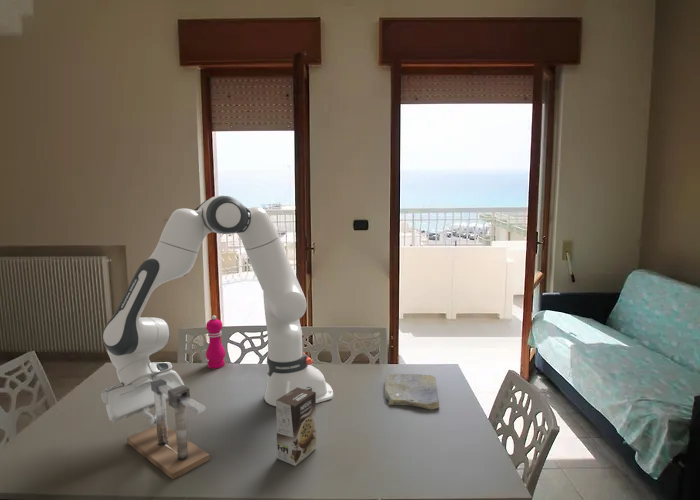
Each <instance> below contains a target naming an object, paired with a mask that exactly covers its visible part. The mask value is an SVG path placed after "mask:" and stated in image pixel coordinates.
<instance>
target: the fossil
mask: <svg viewBox="0 0 700 500" xmlns="http://www.w3.org/2000/svg"><path fill="white" fill-rule="evenodd" d="M384 380H385V381H384V400H383V402H384V405H387V406H389V405H390V406H394V405H395V406H396V405H397V406H398V405H399V406H414V407H417V408H422V409H426V410H430V411H431V410H436V409H439V408H440V399H439V394H438V388H437V380H436V377H435V376H433V375H431V374H429V375H427V374H412V373H411V374H410V373H409V374H406V373H404V374H403V373H399V374H398V373H397V374H396V373H386V374H385V379H384Z"/></svg>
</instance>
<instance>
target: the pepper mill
mask: <svg viewBox="0 0 700 500" xmlns="http://www.w3.org/2000/svg"><path fill="white" fill-rule="evenodd" d="M205 327H206V331H208V332H207V336H208V339H209V344H208V346H207V348H206V349H207V350H206V353H205V358H206V359H207V360H208V361H207V367H208V368H209V369H213V370H215V369H220V368H222V367H224V366H225V364H226V362H225V357H226V350H225V347H224V345H223V344H222V340H221V339H222V338H221V336H222V334H223V333H222V329H223V322H222V320H220V319H218V318H217V316H216V315H215V314H214V315H212V316H211V319H210V320H208V321H207V322H206V325H205Z"/></svg>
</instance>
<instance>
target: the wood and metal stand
mask: <svg viewBox="0 0 700 500" xmlns="http://www.w3.org/2000/svg"><path fill="white" fill-rule="evenodd" d="M184 385H185V384H184ZM184 385H181V386H178V387H176V388H173V389H170V390H168V400H169V401H168V406H170V407H172V408H173V409H174V419H175V430H174V429H172V428H170V427H169V426H168V425H167V431H168V440H167V441H165V442H164V443H161V442H158V441H157V427H156V425H154V426H151V427H149V428H147V429H144V430H142V431H140V432H137V433H135V434H133V435H131V436H127V438H126V441H127V444H128V445H129V446H131V447H132V448H133V449H134V450H136V451H137V452H138V453H139V454H140V455H141V456H143V457H144V458H145V459H147V460H148V461H149V462H151V463H152V464H153V465H154V466H155V467H157V468H158V469H159V470H160V471H161V472H162V473H164V474H165V475H167V476H168V477H169V478H170V479H171V480H175V479H177V478H178V477H181V476H183V475H184V474H186V473H188V472H190V471H192V470H193V469H195V468H197V467H199V466H201V465H203V464H205V463H207V462H209V461H210V460H211V459H210V454H209V453H208V452H206V451H205V450H204V449H202V448H200V446H198V445H196V444H194V443H193V442H192V441H190V440H189V439H188V436H187V432H188V431H187V420H186V418H187V417H186V406H184V405H182V404H181V403H179V402H177V395H179V394H182V393H183V394H184V395H186V396H188V397H190V398H191V393H190V391H191V390H190V388H189V387H188V386H186V385H185V386H184Z"/></svg>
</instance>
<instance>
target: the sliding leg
mask: <svg viewBox="0 0 700 500" xmlns="http://www.w3.org/2000/svg"><path fill="white" fill-rule="evenodd" d="M170 389H173V388H172V387H170V386H168V385H167V382H166V381H164V380H162V379H159V380H157V381H154V382H151V390H152V391H153V392H154V399H155V407H154V410H155V415H156V424H155V426H156V427H157V441H158V442H161V443H164V442H165V441H167V440H168V431H167V426H168V420H167V419H168V418H167V416H168V415H167V404H166V403H167V402H165V395H167V396H168V390H170ZM177 402H179V403H181V404H182V405H184V406H185V408H188V409H190V410H191V411H193V412H195V413H196V414H201V413H203V412H205V411H206V408H207V407H206V406H205V405H204V404H202V403H201V402H199V401H197V400H195V399H193V398H191V396H190V397H188V396H186V395H184V394H183V393H182V394H179V395H177Z"/></svg>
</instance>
